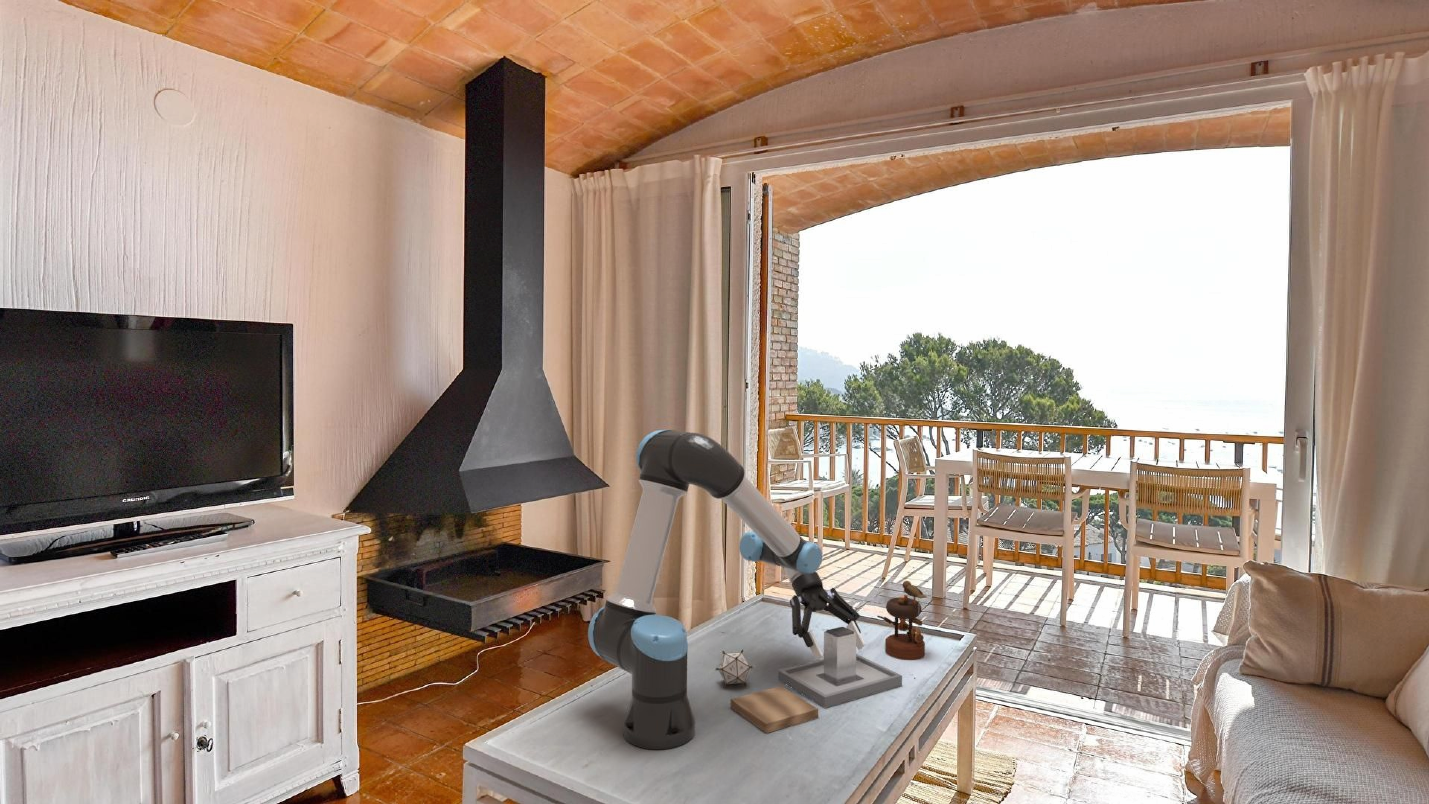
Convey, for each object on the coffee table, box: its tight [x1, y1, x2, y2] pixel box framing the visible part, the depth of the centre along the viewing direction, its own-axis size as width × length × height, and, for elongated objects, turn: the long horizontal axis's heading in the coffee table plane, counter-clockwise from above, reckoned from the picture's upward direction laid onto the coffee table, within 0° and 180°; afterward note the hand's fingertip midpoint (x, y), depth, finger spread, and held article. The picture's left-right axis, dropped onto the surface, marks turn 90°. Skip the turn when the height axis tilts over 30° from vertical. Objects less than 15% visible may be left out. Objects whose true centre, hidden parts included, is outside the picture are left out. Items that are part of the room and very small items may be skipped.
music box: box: [876, 580, 928, 661], centre depth 205 cm, size 15×11×20 cm
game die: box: [715, 649, 754, 688], centre depth 184 cm, size 9×8×10 cm
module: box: [823, 626, 857, 687], centre depth 185 cm, size 6×5×13 cm
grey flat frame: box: [777, 653, 903, 709], centre depth 185 cm, size 24×18×2 cm
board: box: [730, 685, 819, 734], centre depth 169 cm, size 14×14×2 cm
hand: (841, 652), depth 185 cm, fingers open, 13 cm apart
